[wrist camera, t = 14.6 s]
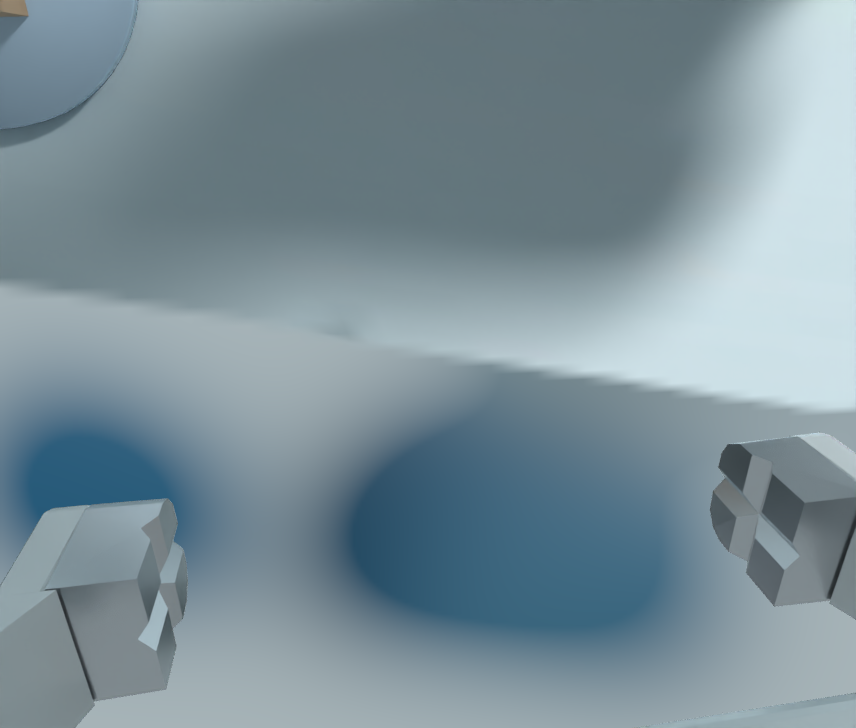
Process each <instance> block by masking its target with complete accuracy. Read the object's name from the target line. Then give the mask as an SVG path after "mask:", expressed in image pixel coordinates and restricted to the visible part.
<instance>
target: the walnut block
mask: <svg viewBox="0 0 856 728" xmlns="http://www.w3.org/2000/svg"><path fill="white" fill-rule="evenodd" d="M20 16H29V15H28V11H27V7H26V3H25V0H0V17H20Z"/></svg>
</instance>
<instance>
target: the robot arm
mask: <svg viewBox="0 0 856 728" xmlns="http://www.w3.org/2000/svg"><path fill="white" fill-rule="evenodd" d="M718 468H719V469H720V471H721V472H722V474H723V476H724V477H725V479H724V480H723V481H722V482H721V483H720V484H719V485H718V486H717V488H716V489H715V490H714V491H713V495H712V501H711V506H710V512H711V518H712V524H713V528H714V530H715V532H716V534H717V536H718V539H719V540H720V542H721V543H722V544H723V545H724V547H725V548H726V549H727V550H728V552H730V553H732V554H734V555H736V556H738V557H740V558H742V559H744V560H746V561H747V569H746V573H747V575H748V576H749V577H750V578H751V579H752V581H753V582H754V583H755V584H756V585H757V586H758V588H759V589H760V590H761V591H762V592H763V594H765V596H766V597H767V598H768V599H769V601H770V602H771V603H772V604H773V606H783V605H793V604H802V603H812V602H821V601H830V604H831V605H833V606H834V607H836V608H838V609H839V610H841V611H843V612H844V613H846V614H847V615H849V616H851V617H852V618H854V619H856V453H855V452H853V451H852V450H850V449H849V448H848V447H846V446H845V445H844V444H842V443H841V442H840V441H838V440H837V439H835V438H834V437H833V436H831V435H828V434H824V433H812V434H804V435H796V436H790V437H788V438H778V439H769V440H760V441H751V442H742V443H735V444H734V443H733V444H728V445H727V446H726V448H725V449H724V450H723V452H722V454H721V458H720V462H719V466H718ZM177 524H178V523H177V519H176V515H175V511H174V507H173V504H172V503H171V502H170V501H169V499H157V500H145V501H131V502H119V503H106V504H95V505H91V506H89V505H83V506H72V507H62V508H53V509H51V510H49V511H47V512H45V513H44V514H43V515H42V517H41V519H40V520H39V522H38V523H37V525H36V527H35V528H34V530H33V532H32V533H31V535H30V537H29V539H28V540H27V542H26V543H25V545H24V547H23V549H22V550H21V552H20V553H19V555H18V557H17V559H16V560H15V562H14V564H13V565H12V567H11V569H10V570H9V572H8V574H7V575H6V577H5V579H4V580H3V582H2V584H1V586H0V728H75V727H76V726H77V725H78V724H79V723H80V722H81V720H82V719H83V718H84V717H85V716H86V715H87V713H88V712H89V711H90V710H91V709H92V708H93V707H94V701H99V700H105V699H111V698H117V697H123V696H130V695H136V694H142V693H148V692H154V691H160V690H165V689H166V688H167V683H168V679H169V675H170V671H171V667H172V663H173V659H174V655H175V651H176V642H175V637H174V633H173V628H174V627H175V626H176V625H177V624H178V623H179V622H180V621H181V620H182V619H183V616H184V611H185V606H186V602H187V586H188V577H187V566H186V560H185V555H184V550H183V549H182V548H181V547H180V546H179V545H177V544H176V543H175V542H174V541H173V539H174V535H175V531H176V528H177ZM636 728H856V693H851V694H844V695H838V696H832V697H825V698H820V699H813V700H807V701H800V702H794V703H788V704H781V705H775V706H768V707H762V708H756V709H749V710H743V711H737V712H731V713H725V714H718V715H712V716H705V717H699V718H693V719H687V720H680V721H674V722H668V723H662V724H655V725H649V726H643V727H636Z"/></svg>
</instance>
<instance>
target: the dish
mask: <svg viewBox="0 0 856 728" xmlns="http://www.w3.org/2000/svg"><path fill="white" fill-rule="evenodd" d="M25 3H26V7H27V11H28V15H29V16H20V17H0V129H9V128H17V127H22V126H27V125H31V124H35V123H39V122H43V121H47V120H50V119H52V118H55V117H57V116H59V115H62V114H64V113H67V112H68V111H70V110H71V109H73V108H75V107H76V106H78V105H80V104H81V103H83V102H84V101H85V100H87V99H88V98H89V97H90V96H91V95H93V94H94V93H95V92H96V91H97V90H98V89H99V88H100V87H101V86H102V85H103V84H104V82H105V81H106V80H107V79H108V78H109V77H110V76H111V74H112V73H113V71H114V70H115V68H116V66H117V65H118V63H119V61H120V60H121V58H122V57H123V54H124V52H125V50H126V47H127V45H128V42H129V40H130V38H131V34H132V31H133V27H134V23H135V19H136V15H137V7H138V0H25Z"/></svg>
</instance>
